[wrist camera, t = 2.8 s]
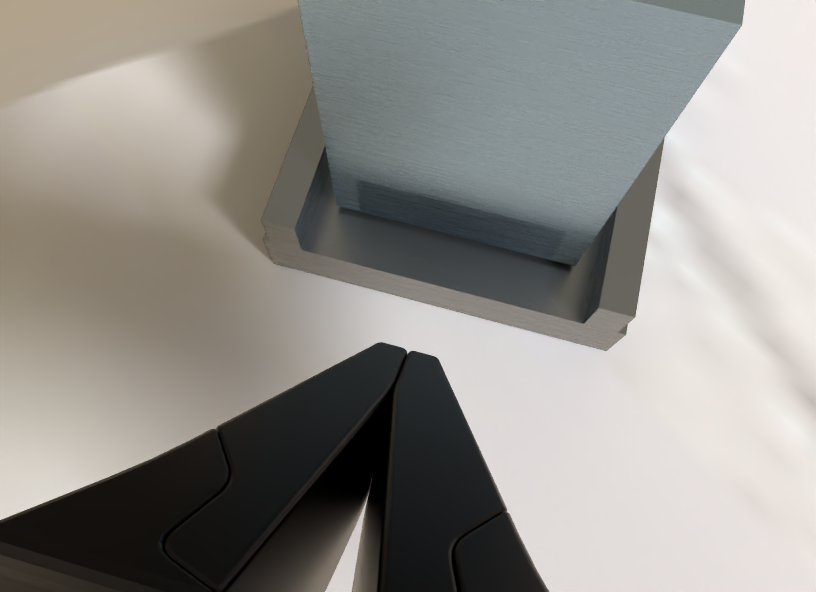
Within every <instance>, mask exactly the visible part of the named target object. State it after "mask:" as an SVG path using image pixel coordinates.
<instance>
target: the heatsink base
mask: <svg viewBox="0 0 816 592" xmlns="http://www.w3.org/2000/svg"><path fill="white" fill-rule="evenodd" d="M664 138H665V137H664ZM663 144H664V139H663V140H662V142H661V143H660V144H659V146H658V147H657V149H656V150H655V152H654V153H653V155H652V156H651V157H650V159H649V160H648V162H647V163H646V165H645V166H644V168H643V169H642V170H641V172H640V173H639V175H638V176H637V178H636V179H635V181H634V182H633V183H632V185H631V186H630V188H629V189H628V191H627V192H626V194H625V195H624V197H623V198H622V199H621V201H620V202H619V204H618V205H617V207H616V208H615V210H614V211H613V212H612V214H611V215H610V217H609V218H608V220H607V221H606V223H605V224H604V225H603V227H602V228H601V230H600V231H599V233H598V234H597V236H596V237H595V238H594V240H593V241H592V243H591V244H590V246H589V247H588V249H587V250H586V252H585V253H584V254H583V256H582V257H581V259H580V260H579V262H578V263H577V265H576V266H572V265H568V264H564V263H560V262H557V261H553V260H549V259H545V258H541V257H537V256H533V255H529V254H525V253H521V252H517V251H513V250H509V249H506V248H502V247H498V246H494V245H490V244H486V243H482V242H478V241H474V240H470V239H466V238H462V237H458V236H455V235H451V234H447V233H443V232H439V231H435V230H431V229H427V228H423V227H419V226H415V225H411V224H407V223H404V222H400V221H396V220H392V219H388V218H384V217H380V216H376V215H372V214H368V213H364V212H360V211H356V210H352V209H349V208H345V207H341V206H337V205H336V200H335V195H334V189H333V184H332V179H331V174H330V168H329V163H328V158H327V153H326V147H325V142H324V137H323V131H322V126H321V121H320V116H319V110H318V105H317V100H316V95H315V89H314V85H313V87H312V90H311V92H310V95H309V98H308V100H307V103H306V105H305V108H304V110H303V113H302V116H301V118H300V121H299V123H298V126H297V129H296V131H295V134H294V136H293V139H292V141H291V144H290V147H289V149H288V152H287V154H286V157H285V160H284V162H283V165H282V167H281V170H280V173H279V175H278V178H277V180H276V183H275V185H274V188H273V191H272V193H271V196H270V198H269V201H268V204H267V206H266V209H265V211H264V214H263V216H262V219H261V222H262V224H263V226H264V228H265V231H266V233H265V236H264V238H263V241H264V244H265V246H266V248H267V250H268V252H269V254H270V256H271V258H272V260H273V263H275V264H279V265H282V266H286V267H290V268H294V269H297V270H301V271H305V272H309V273H313V274H316V275H320V276H324V277H328V278H332V279H335V280H339V281H343V282H347V283H351V284H354V285H358V286H362V287H366V288H370V289H373V290H377V291H381V292H385V293H389V294H392V295H396V296H400V297H404V298H408V299H411V300H415V301H419V302H423V303H426V304H430V305H434V306H438V307H442V308H445V309H449V310H453V311H457V312H461V313H464V314H468V315H472V316H476V317H480V318H483V319H487V320H491V321H495V322H499V323H502V324H506V325H510V326H514V327H518V328H521V329H525V330H529V331H533V332H537V333H540V334H544V335H548V336H552V337H556V338H559V339H563V340H567V341H571V342H574V343H578V344H582V345H586V346H590V347H593V348H597V349H601V350H605V351H607V350H608V349H609V348H611V347H612V346H613V345H614V344H615V343H617V342H618V341H619V340H620V339H621V338H623V337H624V336H625V335H626V331H627V325H628V323H629V322H630V321H631V320H633V319H634V318H635V315H636V309H637V303H638V296H639V290H640V284H641V278H642V272H643V266H644V260H645V254H646V248H647V241H648V235H649V229H650V223H651V217H652V211H653V205H654V199H655V193H656V187H657V180H658V174H659V168H660V162H661V156H662V150H663Z"/></svg>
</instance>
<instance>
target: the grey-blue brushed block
mask: <svg viewBox="0 0 816 592" xmlns="http://www.w3.org/2000/svg"><path fill="white" fill-rule="evenodd" d="M298 5H299V10H300V15H301V21H302V26H303V31H304V37H305V42H306V47H307V52H308V58H309V63H310V68H311V73H312V79H313V84H314V89H315V95H316V100H317V105H318V110H319V116H320V121H321V126H322V131H323V137H324V142H325V147H326V153H327V158H328V163H329V168H330V174H331V179H332V184H333V189H334V195H335V200H336V205H337V206H341V207H345V208H349V209H352V210H356V211H360V212H364V213H368V214H372V215H376V216H380V217H384V218H388V219H392V220H396V221H400V222H404V223H407V224H411V225H415V226H419V227H423V228H427V229H431V230H435V231H439V232H443V233H447V234H451V235H455V236H458V237H462V238H466V239H470V240H474V241H478V242H482V243H486V244H490V245H494V246H498V247H502V248H506V249H509V250H513V251H517V252H521V253H525V254H529V255H533V256H537V257H541V258H545V259H549V260H553V261H557V262H560V263H564V264H568V265H572V266H576V265H577V263H578V262H579V260H580V259H581V257H582V256H583V254H584V253H585V252H586V250H587V249H588V247H589V246H590V244H591V243H592V241H593V240H594V238H595V237H596V236H597V234H598V233H599V231H600V230H601V228H602V227H603V225H604V224H605V223H606V221H607V220H608V218H609V217H610V215H611V214H612V212H613V211H614V210H615V208H616V207H617V205H618V204H619V202H620V201H621V199H622V198H623V197H624V195H625V194H626V192H627V191H628V189H629V188H630V186H631V185H632V183H633V182H634V181H635V179H636V178H637V176H638V175H639V173H640V172H641V170H642V169H643V168H644V166H645V165H646V163H647V162H648V160H649V159H650V157H651V156H652V155H653V153H654V152H655V150H656V149H657V147H658V146H659V144H660V143H661V142H662V140H663V139H664V137H665V136H666V134H667V133H668V131H669V130H670V128H671V127H672V126H673V124H674V123H675V121H676V120H677V118H678V117H679V115H680V114H681V113H682V111H683V110H684V108H685V107H686V105H687V104H688V102H689V101H690V100H691V98H692V97H693V95H694V94H695V92H696V91H697V89H698V88H699V87H700V85H701V84H702V82H703V81H704V79H705V78H706V76H707V75H708V73H709V72H710V71H711V69H712V68H713V66H714V65H715V63H716V62H717V60H718V59H719V58H720V56H721V55H722V53H723V52H724V50H725V49H726V47H727V46H728V45H729V43H730V42H731V40H732V39H733V37H734V36H735V34H736V33H737V32H738V30H739V29H740V27H741V26H742V21H743V13H744V5H745V0H298Z"/></svg>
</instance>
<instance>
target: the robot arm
mask: <svg viewBox="0 0 816 592" xmlns="http://www.w3.org/2000/svg"><path fill="white" fill-rule="evenodd" d="M368 494H369V495H368ZM367 496H368V500H367V504H366V509H365V514H364V519H363V525H362V531H361V538H360V544H359V550H358V556H357V562H356V568H355V574H354V581H353V587H352V592H549V590H548V589H547V587H546V585H545V584H544V582H543V580H542V578H541V577H540V575H539V573H538V572H537V570H536V568H535V566H534V564H533V562H532V560H531V558H530V556H529V554H528V552H527V550H526V548H525V546H524V544H523V542H522V540H521V538H520V536H519V534H518V532H517V529H516V527H515V525H514V523H513V521H512V518H511V516H510V514H509V513H507V508H506V506H505V504H504V501H503V499H502V497H501V495H500V493H499V490H498V488H497V486H496V484H495V482H494V480H493V477H492V475H491V473H490V471H489V469H488V466H487V464H486V462H485V460H484V458H483V456H482V453H481V451H480V449H479V447H478V445H477V442H476V440H475V438H474V436H473V434H472V432H471V429H470V427H469V425H468V423H467V421H466V418H465V416H464V414H463V412H462V410H461V408H460V405H459V403H458V401H457V399H456V397H455V394H454V392H453V390H452V388H451V386H450V384H449V381H448V379H447V377H446V375H445V373H444V370H443V368H442V366H441V364H440V362H439V360H438V359H437V358H436V357H434V356H431V355H427V354H423V353H420V352H416V351H410V352H409V353H408V354H407V351H406V350H405V349H404V348H401V347H397V346H394V345H390V344H386V343H381V342H380V343H377V344H375V345H373V346H371V347H369V348H367V349H365V350H363V351H361V352H359V353H358V354H356V355H354V356H352V357H350V358H348V359H346V360H344V361H342V362H340V363H338V364H336V365H334V366H333V367H331V368H329V369H327V370H325V371H323V372H321V373H319V374H317V375H315V376H313V377H311V378H309V379H307V380H306V381H304V382H302V383H300V384H298V385H296V386H294V387H292V388H290V389H288V390H286V391H284V392H282V393H281V394H279V395H277V396H275V397H273V398H271V399H269V400H267V401H265V402H263V403H261V404H259V405H257V406H256V407H254V408H252V409H250V410H248V411H246V412H244V413H242V414H240V415H238V416H236V417H234V418H232V419H231V420H229V421H227V422H225V423H223V424H221V425H219V426H218V427H217V428H216V429H211V430H209V431H207V432H205V433H203V434H201V435H199V436H197V437H195V438H193V439H191V440H190V441H187V442H185V443H183V444H181V445H179V446H177V447H175V448H173V449H171V450H169V451H167V452H165V453H163V454H161V455H159V456H157V457H154V458H152V459H150V460H148V461H145V462H143V463H141V464H138V465H136V466H134V467H131V468H129V469H126V470H124V471H122V472H119V473H117V474H115V475H112V476H110V477H108V478H105V479H103V480H100V481H98V482H95V483H93V484H90V485H88V486H85V487H83V488H80V489H77V490H75V491H72V492H70V493H67V494H65V495H62V496H60V497H57V498H55V499H52V500H50V501H47V502H45V503H42V504H40V505H37V506H35V507H32V508H30V509H27V510H25V511H22V512H20V513H17V514H15V515H12V516H10V517H7V518H5V519H2V520H0V592H325V591H326V589H327V586H328V584H329V582H330V580H331V578H332V575H333V573H334V571H335V569H336V567H337V565H338V562H339V560H340V558H341V556H342V554H343V552H344V549H345V547H346V545H347V543H348V541H349V539H350V536H351V534H352V532H353V530H354V528H355V526H356V523H357V521H358V519H359V517H360V514H361V512H362V510H363V507H364V505H365V502H366V499H367Z"/></svg>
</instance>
